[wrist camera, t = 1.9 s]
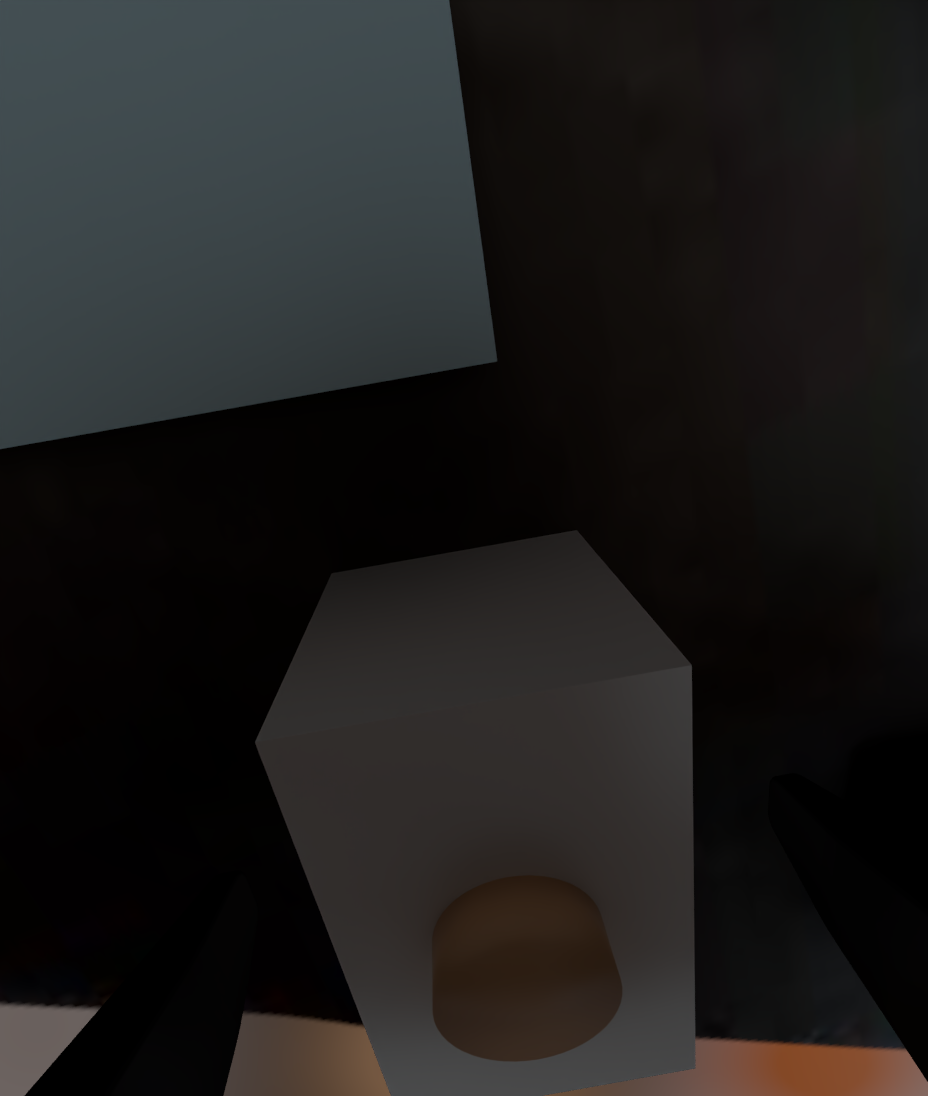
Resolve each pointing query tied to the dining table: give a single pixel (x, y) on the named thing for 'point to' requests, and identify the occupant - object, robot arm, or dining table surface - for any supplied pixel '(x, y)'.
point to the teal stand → (228, 207)
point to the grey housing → (497, 817)
